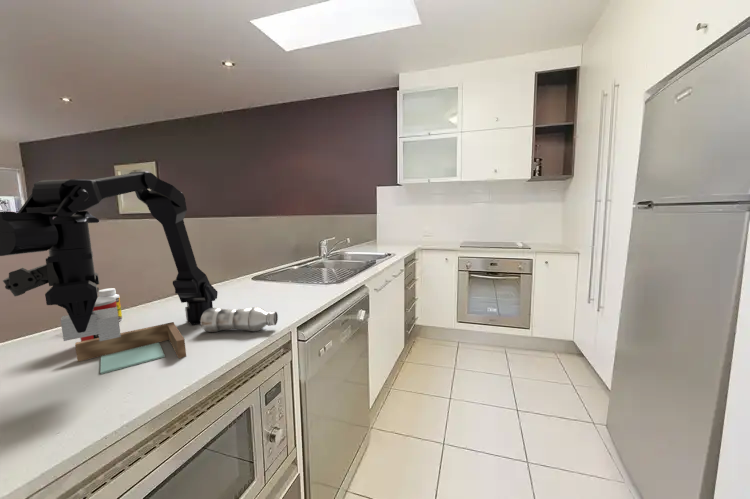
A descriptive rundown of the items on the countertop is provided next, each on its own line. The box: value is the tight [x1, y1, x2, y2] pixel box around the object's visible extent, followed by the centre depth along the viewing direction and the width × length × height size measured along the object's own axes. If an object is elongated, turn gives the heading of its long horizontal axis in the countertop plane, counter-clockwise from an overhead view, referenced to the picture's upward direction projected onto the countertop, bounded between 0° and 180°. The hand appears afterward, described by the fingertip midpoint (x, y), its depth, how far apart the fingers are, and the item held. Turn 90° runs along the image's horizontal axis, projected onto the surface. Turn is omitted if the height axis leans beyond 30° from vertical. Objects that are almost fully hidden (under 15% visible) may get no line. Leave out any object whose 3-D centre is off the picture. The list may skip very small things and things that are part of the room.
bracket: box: [60, 307, 121, 342], centre depth 59 cm, size 8×8×4 cm
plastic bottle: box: [200, 306, 279, 333], centre depth 86 cm, size 6×7×20 cm
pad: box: [100, 342, 165, 375], centre depth 71 cm, size 11×10×1 cm
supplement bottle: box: [98, 287, 123, 322], centre depth 96 cm, size 6×6×10 cm
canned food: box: [79, 297, 117, 342], centre depth 80 cm, size 8×8×11 cm
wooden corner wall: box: [74, 321, 187, 362], centre depth 71 cm, size 19×16×4 cm
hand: (82, 329), depth 60 cm, fingers closed on bracket, 3 cm apart
